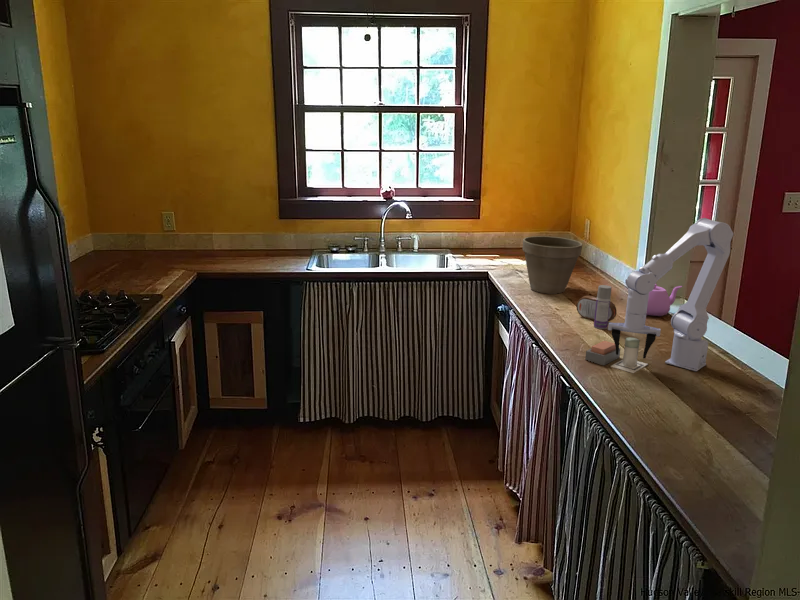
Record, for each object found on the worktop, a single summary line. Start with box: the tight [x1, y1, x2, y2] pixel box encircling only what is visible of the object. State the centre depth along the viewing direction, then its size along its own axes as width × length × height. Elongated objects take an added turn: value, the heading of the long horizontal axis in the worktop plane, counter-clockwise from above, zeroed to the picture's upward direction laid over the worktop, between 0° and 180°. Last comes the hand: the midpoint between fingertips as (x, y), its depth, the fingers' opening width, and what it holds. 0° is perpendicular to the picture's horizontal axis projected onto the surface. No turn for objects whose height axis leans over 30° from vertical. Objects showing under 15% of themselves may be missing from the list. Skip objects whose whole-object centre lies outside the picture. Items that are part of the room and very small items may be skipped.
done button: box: [590, 340, 616, 355], centre depth 198 cm, size 4×8×2 cm, turn 136°
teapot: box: [646, 283, 683, 317], centre depth 248 cm, size 20×13×12 cm, turn 89°
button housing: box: [584, 347, 621, 366], centre depth 199 cm, size 6×10×3 cm, turn 136°
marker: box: [622, 337, 640, 367], centre depth 193 cm, size 4×4×8 cm
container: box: [593, 284, 613, 330], centre depth 228 cm, size 5×5×15 cm
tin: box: [576, 295, 617, 323], centre depth 238 cm, size 15×3×8 cm, turn 47°
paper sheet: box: [610, 359, 649, 374], centre depth 194 cm, size 7×10×1 cm
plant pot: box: [522, 235, 583, 295], centre depth 277 cm, size 25×25×22 cm
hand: (630, 355), depth 193 cm, fingers open, 7 cm apart
